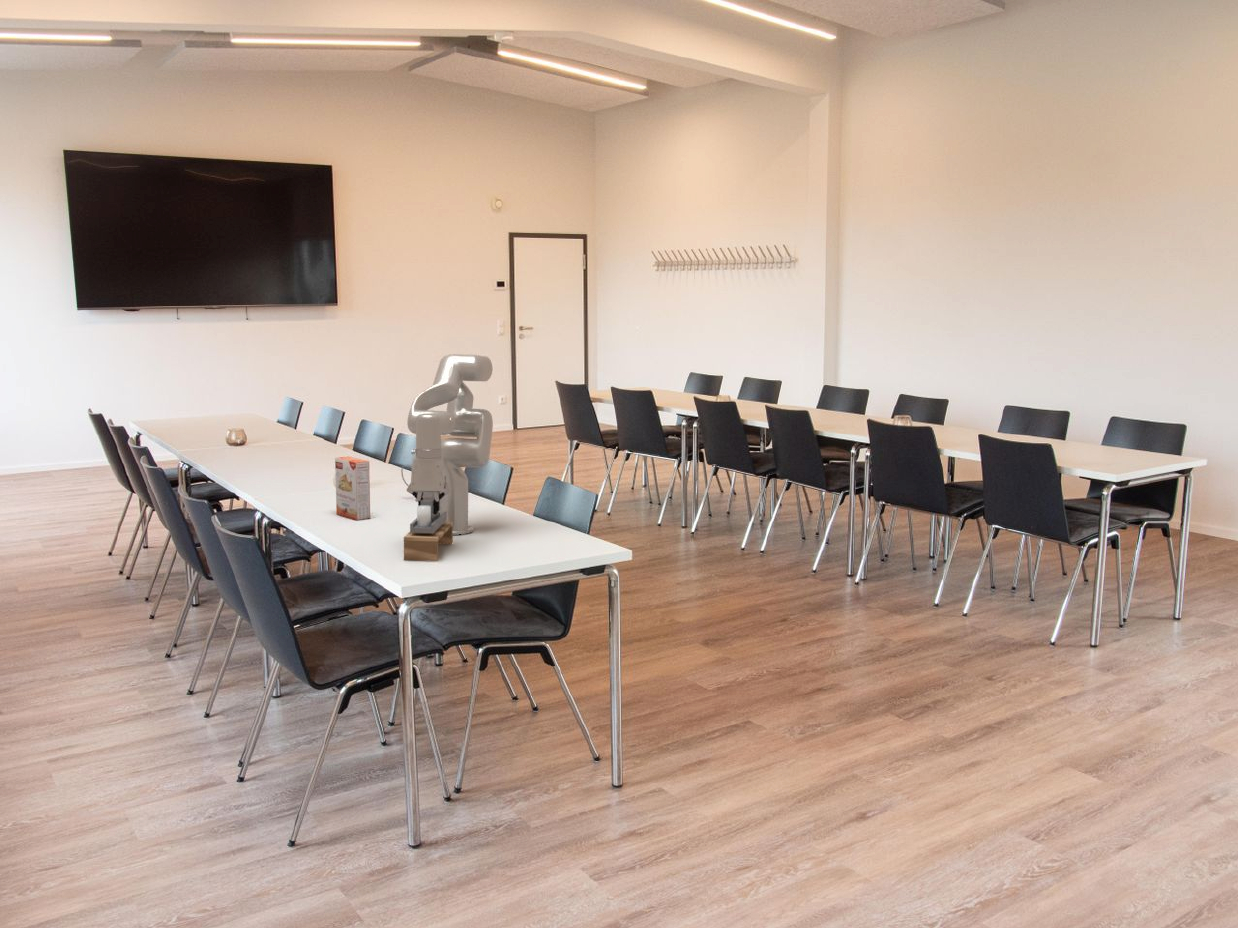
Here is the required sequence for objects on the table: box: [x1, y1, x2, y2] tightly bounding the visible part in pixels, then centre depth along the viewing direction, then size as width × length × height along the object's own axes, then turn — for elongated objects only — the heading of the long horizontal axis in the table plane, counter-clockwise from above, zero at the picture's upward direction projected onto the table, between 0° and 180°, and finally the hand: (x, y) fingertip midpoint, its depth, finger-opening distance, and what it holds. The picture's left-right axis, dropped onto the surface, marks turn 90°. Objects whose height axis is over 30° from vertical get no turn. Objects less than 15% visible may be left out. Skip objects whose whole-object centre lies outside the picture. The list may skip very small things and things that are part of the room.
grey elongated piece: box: [409, 497, 447, 533], centre depth 326 cm, size 20×7×8 cm, turn 178°
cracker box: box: [334, 456, 371, 521], centre depth 377 cm, size 14×6×21 cm, turn 45°
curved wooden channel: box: [403, 522, 454, 562], centre depth 327 cm, size 24×10×7 cm, turn 178°
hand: (428, 512), depth 326 cm, fingers closed on grey elongated piece, 3 cm apart
